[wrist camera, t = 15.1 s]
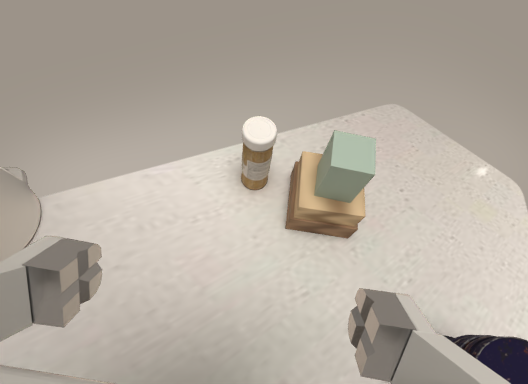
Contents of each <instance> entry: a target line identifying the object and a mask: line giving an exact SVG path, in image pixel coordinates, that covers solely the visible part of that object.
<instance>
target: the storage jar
mask: <svg viewBox="0 0 528 384" xmlns="http://www.w3.org/2000/svg"><path fill="white" fill-rule="evenodd" d="M443 336H444V335H443ZM444 337H446V338H447V339H449V340H450V341H451V342H453V343H454V344H456V345H457V346H459V347H460V348H461V349H463V350H464V351H466V352H467V353H468V354H470V355H471V356H473V357H474V358H475V359H477V360H478V361H480V362H481V363H482V364H484V365H485V366H487V367H488V368H490V369H491V370H492V371H494V372H495V373H497V374H498V375H499V376H501V377H502V378H504V379H505V380H506V381H508V382H509V383H511V384H528V341H527V340H524V339H521V338H517V337H496V336H491V335H464V336H460V337H457V338H453V337H449V336H444Z"/></svg>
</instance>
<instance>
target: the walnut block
mask: <svg viewBox="0 0 528 384" xmlns="http://www.w3.org/2000/svg"><path fill="white" fill-rule="evenodd" d="M298 163H299V162H297V161H296V162H295V165H294V168H293V171H292V174H291V182H290V191H289V200H288V210H287V219H286V228H285V229H292V230H298V231H305V232H311V233H317V234H324V235H330V236H336V237H343V238H349V237H350V236H351V235H352V234H353V233H354V232H356V231H357V230H358V224H357V225H356V226H355V227H354V226H347V225H340V224H333V223H326V222H319V221H312V220H305V219H298V218H294V206H295V194H296V181H297V168H298Z"/></svg>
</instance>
